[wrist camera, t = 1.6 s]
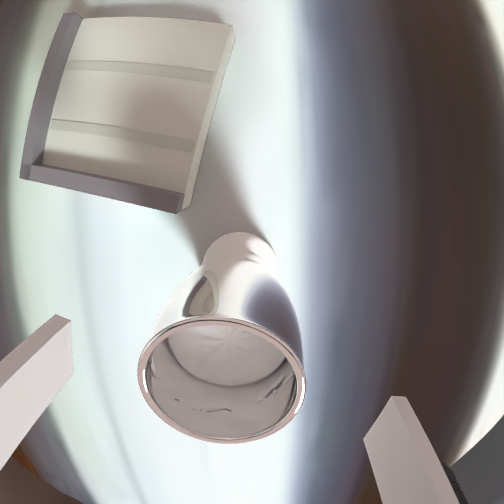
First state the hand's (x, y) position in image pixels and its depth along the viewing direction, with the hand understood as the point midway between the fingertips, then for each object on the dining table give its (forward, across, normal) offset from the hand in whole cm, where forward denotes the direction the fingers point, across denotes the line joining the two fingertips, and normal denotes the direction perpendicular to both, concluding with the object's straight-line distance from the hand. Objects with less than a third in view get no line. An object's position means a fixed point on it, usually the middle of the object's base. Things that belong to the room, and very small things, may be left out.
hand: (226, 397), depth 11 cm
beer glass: (+15, 0, 0) cm, 15 cm away
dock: (+15, -12, +11) cm, 22 cm away
